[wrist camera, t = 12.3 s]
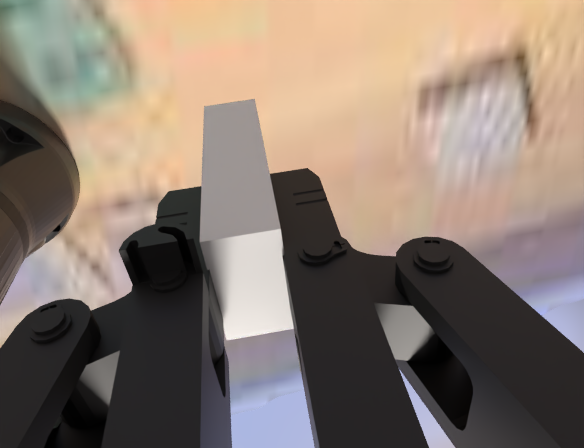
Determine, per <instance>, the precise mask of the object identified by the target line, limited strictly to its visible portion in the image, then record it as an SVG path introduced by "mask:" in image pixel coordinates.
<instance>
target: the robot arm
mask: <svg viewBox="0 0 584 448" xmlns="http://www.w3.org/2000/svg"><path fill="white" fill-rule="evenodd" d="M79 193H80V181H79V175H78V171H77V168H76V165H75V162H74V160H73V158H72V156H71V154H70V153H69V151H68V149H67V148H66V146H65V145H64V144H63V142H62V141H61V140H60V139H59V138H58V136H57V135H56V134H55V133H54V132H53V131H52V130H51V129H50V128H48V127H47V126H46V125H45V124H44V123H42V122H41V121H40V120H38V119H37V118H36V117H34V116H32V115H31V114H29V113H28V112H26V111H24V110H22V109H20V108H18V107H16V106H14V105H12V104H9V103H7V102H4V101H1V100H0V305H1V303H2V301H3V299H4V297H5V295H6V293H7V291H8V289H9V287H10V285H11V284H12V282H13V280H14V278H15V276H16V274H17V272H18V270H19V268H20V266H21V264H22V263H23V261H24V259H25V258H26V257H28V256H29V255H31V254H32V253H33V252H35V251H36V250H38V249H39V248H40V247H42V246H43V245H44V244H45V243H47V242H49V241H50V240H51V239H53V238H54V237H55V236H56V235H58V234H59V233H60V232H61V231H62V229H63V228H64V227H65V226H66V224H67V223H68V221H69V219H70V217H71V215H72V213H73V211H74V209H75V207H76V205H77V202H78V198H79ZM156 218H157V219H156V222H155V224H154V225H150V226H147V227H144V228H142V229H140V230H139V231H137V232H135V233H133V234H132V235H131V236H129V237H128V238H127V239H126V240H125V241H124V242H123V244H122V246H121V247H120V249H119V253H120V255H121V257H122V260H123V262H124V265H125V267H126V270H127V272H128V274H129V277H130V279H131V282H132V284H133V286H132V291H131V292H130V293H129V294H127V295H126V296H124V297H122V298H120V299H118V300H116V301H114V302H112V303H109V304H107V305H104V306H102V307H99V308H97V309H94V310H92V311H91V310H90V308H89V306H87V305H86V304H85V303H83V302H82V301H80V300H75V299H63V300H56V301H53V302H51V303H48V304H45V305H43V306H40V307H39V308H37V309H36V310H34V311H33V312H31V313H30V314H28V315H27V316H26V317H25V318H24V319H23V320H22V321H21V322H20V323H19V324H18V325H17V326H16V328H15V329H14V330H13V332H12V333H11V335H10V336H9V337H8V339H7V340H6V341H5V343H4V344H3V345H2V347H1V348H0V448H232V441H231V413H230V387H229V362H228V358H227V354H226V351H225V347H224V332H225V336H226V339H227V340H232V339H238V338H243V337H249V336H255V335H260V334H266V333H272V332H277V331H283V330H289V329H294V332H295V339H296V346H297V353H298V359H299V366H300V372H301V374H302V379H303V385H304V391H305V396H306V401H307V407H308V412H309V418H310V424H311V429H312V435H313V440H314V446H315V448H429V446H428V444H427V441H426V439H425V436H424V434H423V431H422V428H421V426H420V423H419V420H418V418H417V415H416V413H415V410H414V407H413V405H412V402H411V400H410V397H409V394H408V392H407V389H406V387H405V384H404V382H403V379H402V376H401V373H400V371H399V369H400V370H401V372H402V373H403V374H404V376H405V377H406V379H407V380H408V381H409V383H410V384H411V386H412V387H413V389H414V390H415V391H416V393H417V394H418V395H419V397H420V398H421V400H422V401H423V402H424V404H425V405H426V407H427V408H428V409H429V411H430V412H431V414H432V415H433V417H434V418H435V419H436V421H437V422H438V424H439V425H440V426H441V428H442V429H443V430H444V432H445V433H446V435H447V436H448V438H449V439H450V440H451V442H452V443H453V445H454V446H455V447H456V448H584V353H583V352H582V351H581V350H580V349H579V348H578V347H577V346H575V345H574V344H573V343H572V342H571V341H570V340H569V339H567V338H566V337H565V336H564V335H563V334H562V333H560V332H559V331H558V330H557V329H556V328H555V327H554V326H552V325H551V324H550V323H549V322H548V321H547V320H545V319H544V318H543V317H542V316H541V315H540V314H539V313H538V312H536V311H535V310H534V309H533V308H532V307H531V306H530V305H528V304H527V303H526V302H525V301H524V300H523V299H521V298H520V297H519V296H518V295H517V294H516V293H515V292H513V291H512V290H511V289H510V288H509V287H508V286H507V285H505V284H504V283H503V282H502V281H501V280H500V279H499V278H497V277H496V276H495V275H494V274H493V273H492V272H490V271H489V270H488V269H487V268H486V267H485V266H484V265H482V264H481V263H480V262H479V261H478V260H477V259H476V258H474V257H473V256H472V255H471V254H470V253H469V252H468V251H466V250H465V249H464V248H463V247H461V246H459V245H458V244H456V243H455V242H453V241H450V240H446V239H443V238H439V237H421V238H416V239H412V240H410V241H408V242H406V243H405V244H403V245H402V246H401V247H400V248H399V250H398V251H397V252H396V256H379V255H371V254H366V253H363V252H360V251H357V250H355V249H353V248H352V247H351V245H350V244H349V243H348V241H347V240H346V239H344V238H342V237H341V235H340V232H339V230H338V227H337V224H336V221H335V219H334V216H333V213H332V211H331V208H330V205H329V202H328V201H327V197H326V194H325V192H324V189H323V186H322V183H321V181H320V178H319V177H318V176H317V175H316V174H314V173H313V172H312V171H310V170H309V169H308V168H305V169H299V170H292V171H286V172H280V173H273V174H270V173H269V168H268V163H267V158H266V153H265V148H264V143H263V138H262V133H261V128H260V123H259V118H258V113H257V108H256V103H255V99H251V100H245V101H238V102H231V103H224V104H218V105H211V106H204V128H203V157H202V186H200V187H194V188H188V189H181V190H175V191H169V192H168V193H167V194H166V195H165V197H164V198H163V199H162V200H161V202H160V203H159V204H158V210H157V216H156ZM398 367H399V368H398Z"/></svg>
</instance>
